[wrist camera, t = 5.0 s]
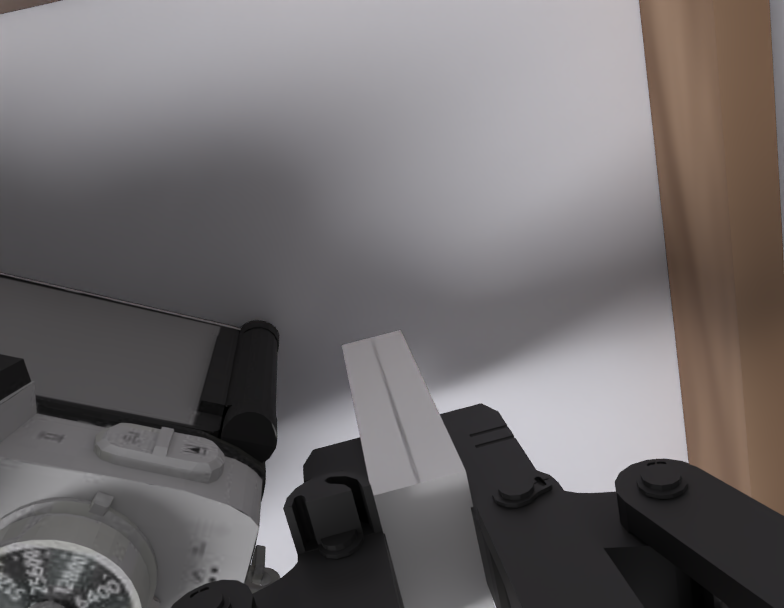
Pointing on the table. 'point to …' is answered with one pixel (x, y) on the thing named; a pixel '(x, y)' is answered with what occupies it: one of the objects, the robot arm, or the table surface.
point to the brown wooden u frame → (716, 229)
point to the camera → (128, 449)
